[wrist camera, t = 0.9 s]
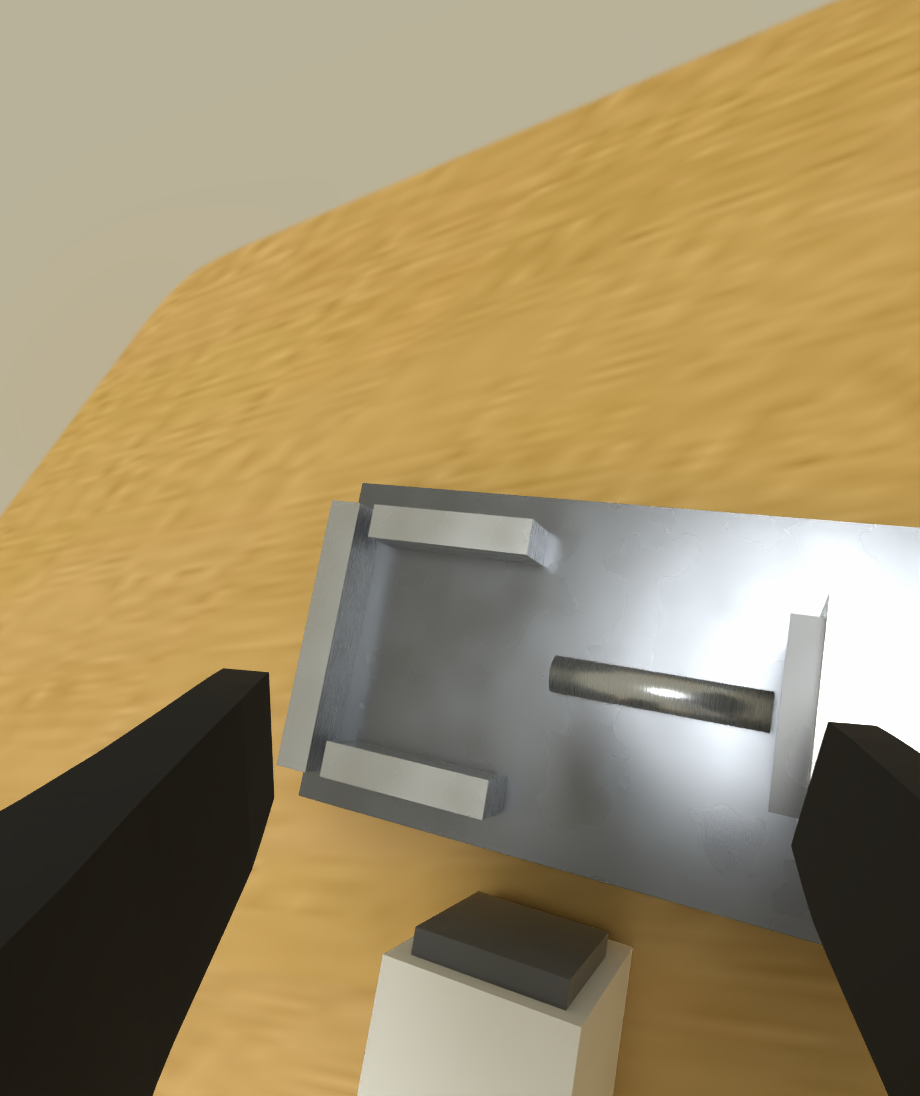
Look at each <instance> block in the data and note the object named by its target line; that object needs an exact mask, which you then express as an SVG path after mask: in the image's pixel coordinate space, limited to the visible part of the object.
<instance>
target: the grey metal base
mask: <svg viewBox="0 0 920 1096" xmlns="http://www.w3.org/2000/svg"><path fill="white" fill-rule="evenodd" d="M828 721H832V722H843V723H855V724H866V725H877V726H879V727H880V728H882V729H884V730H885V731H887V732H889V733H891V734H892V735H894V736H895V737H897V738H899V739H900V740H902V741H903V742H905V743H906V744H908V745H909V746H911V747H912V748H914V749H915V750H917V751H918V752H920V528H915V527H902V526H890V525H877V524H865V523H852V522H840V521H828V520H815V519H803V518H790V517H778V516H766V515H753V514H741V513H728V512H716V511H703V510H691V509H679V508H666V507H654V506H641V505H629V504H617V503H604V502H592V501H579V500H567V499H554V498H542V497H530V496H517V495H505V494H492V493H480V492H468V491H455V490H443V489H430V488H418V487H405V486H393V485H381V484H368V483H363V484H362V489H361V494H360V498H359V503H355V502H344V501H334V500H332V504H331V509H330V513H329V518H328V523H327V528H326V532H325V537H324V542H323V547H322V551H321V556H320V561H319V566H318V570H317V575H316V580H315V585H314V589H313V594H312V599H311V604H310V608H309V613H308V618H307V623H306V627H305V632H304V637H303V642H302V646H301V651H300V656H299V661H298V665H297V670H296V675H295V680H294V685H293V689H292V694H291V699H290V704H289V708H288V713H287V718H286V723H285V727H284V732H283V737H282V742H281V746H280V751H279V756H278V761H277V765H279V766H283V767H287V768H290V769H294V770H298V771H301V772H303V777H302V782H301V787H300V791H299V796H302V797H306V798H309V799H313V800H316V801H320V802H323V803H327V804H330V805H334V806H337V807H341V808H345V809H348V810H352V811H355V812H359V813H362V814H366V815H369V816H373V817H376V818H380V819H383V820H387V821H390V822H394V823H397V824H401V825H404V826H408V827H411V828H415V829H418V830H422V831H425V832H429V833H432V834H436V835H439V836H443V837H446V838H450V839H453V840H457V841H460V842H464V843H467V844H471V845H474V846H478V847H481V848H485V849H488V850H492V851H495V852H499V853H502V854H506V855H509V856H513V857H516V858H520V859H523V860H527V861H530V862H534V863H537V864H541V865H544V866H548V867H551V868H555V869H558V870H562V871H565V872H569V873H572V874H576V875H579V876H583V877H586V878H590V879H594V880H597V881H601V882H604V883H608V884H611V885H615V886H618V887H622V888H625V889H629V890H632V891H636V892H639V893H643V894H646V895H650V896H653V897H657V898H660V899H664V900H667V901H671V902H674V903H678V904H681V905H685V906H688V907H692V908H695V909H699V910H702V911H706V912H709V913H713V914H716V915H720V916H723V917H727V918H730V919H734V920H737V921H741V922H744V923H748V924H751V925H755V926H758V927H762V928H765V929H769V930H772V931H776V932H779V933H783V934H786V935H790V936H793V937H797V938H800V939H804V940H807V941H811V942H814V943H818V944H821V945H822V943H821V940H820V938H819V935H818V933H817V931H816V928H815V926H814V923H813V920H812V917H811V914H810V911H809V907H808V904H807V901H806V898H805V895H804V891H803V888H802V884H801V881H800V877H799V873H798V870H797V866H796V862H795V859H794V855H793V852H792V848H791V844H792V840H793V837H794V833H795V830H796V827H797V823H798V820H799V817H800V813H801V810H802V807H803V803H804V800H805V796H806V793H807V790H808V786H809V783H810V780H811V776H812V773H813V769H814V766H815V763H816V759H817V756H818V753H819V749H820V746H821V743H822V739H823V736H824V732H825V729H826V726H827V722H828Z"/></svg>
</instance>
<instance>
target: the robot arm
mask: <svg viewBox="0 0 920 1096" xmlns="http://www.w3.org/2000/svg"><path fill="white" fill-rule="evenodd" d="M273 800H274V781H273V757H272V734H271V710H270V687H269V672H258V671H247V670H235V669H224V668H223V669H221V670H220V671H218V672H217V673H215V674H213V675H212V676H210V677H209V678H207V679H206V680H204V681H203V682H201V683H200V684H198V685H197V686H195V687H194V688H192V689H191V690H189V691H188V692H186V693H185V694H183V695H182V696H181V697H179V698H178V699H176V700H175V701H173V702H172V703H170V704H169V705H168V706H166V707H165V708H163V709H162V710H160V711H159V712H157V713H156V714H154V715H153V716H152V717H150V718H149V719H147V720H146V721H144V722H143V723H141V724H140V725H138V726H137V727H135V728H134V729H132V730H131V731H129V732H128V733H126V734H125V735H123V736H122V737H120V738H119V739H117V740H116V741H114V742H113V743H111V744H110V745H108V746H107V747H105V748H104V749H102V750H101V751H99V752H98V753H96V754H94V755H93V756H91V757H89V758H88V759H86V760H85V761H83V762H81V763H80V764H78V765H76V766H75V767H73V768H71V769H70V770H68V771H67V772H65V773H63V774H62V775H60V776H58V777H57V778H55V779H53V780H52V781H50V782H49V783H47V784H45V785H44V786H42V787H40V788H39V789H37V790H36V791H34V792H32V793H31V794H29V795H27V796H26V797H24V798H22V799H21V800H19V801H17V802H15V803H14V804H12V805H10V806H8V807H7V808H5V809H3V810H1V811H0V1096H153V1093H154V1090H155V1087H156V1085H157V1082H158V1080H159V1077H160V1075H161V1072H162V1070H163V1067H164V1065H165V1063H166V1060H167V1058H168V1055H169V1053H170V1050H171V1048H172V1046H173V1043H174V1041H175V1039H176V1036H177V1034H178V1032H179V1030H180V1028H181V1025H182V1023H183V1021H184V1019H185V1017H186V1014H187V1012H188V1010H189V1008H190V1006H191V1003H192V1001H193V999H194V997H195V995H196V992H197V990H198V988H199V986H200V984H201V981H202V979H203V977H204V975H205V973H206V970H207V968H208V966H209V964H210V962H211V959H212V957H213V955H214V953H215V951H216V948H217V946H218V944H219V942H220V940H221V937H222V935H223V933H224V931H225V929H226V926H227V924H228V922H229V920H230V918H231V915H232V913H233V911H234V909H235V906H236V904H237V902H238V900H239V897H240V895H241V893H242V891H243V888H244V886H245V884H246V882H247V879H248V877H249V875H250V872H251V870H252V867H253V864H254V861H255V858H256V855H257V852H258V849H259V846H260V843H261V840H262V837H263V833H264V830H265V827H266V823H267V820H268V817H269V813H270V810H271V807H272V803H273ZM791 848H792V852H793V855H794V859H795V862H796V866H797V870H798V873H799V877H800V881H801V884H802V888H803V891H804V895H805V898H806V901H807V904H808V907H809V911H810V914H811V917H812V920H813V923H814V926H815V928H816V931H817V933H818V935H819V938H820V940H821V943H822V945H823V947H824V950H825V952H826V954H827V957H828V959H829V961H830V964H831V966H832V968H833V971H834V973H835V975H836V977H837V980H838V982H839V984H840V987H841V989H842V991H843V994H844V996H845V998H846V1000H847V1003H848V1005H849V1007H850V1009H851V1012H852V1014H853V1016H854V1018H855V1021H856V1023H857V1025H858V1028H859V1030H860V1032H861V1034H862V1037H863V1039H864V1041H865V1043H866V1046H867V1048H868V1050H869V1052H870V1055H871V1057H872V1059H873V1061H874V1064H875V1066H876V1068H877V1071H878V1073H879V1075H880V1077H881V1080H882V1082H883V1084H884V1086H885V1089H886V1091H887V1093H888V1095H889V1096H920V752H918V751H917V750H915V749H914V748H912V747H911V746H909V745H908V744H906V743H905V742H903V741H902V740H900V739H899V738H897V737H895V736H894V735H892V734H891V733H889V732H887V731H885V730H884V729H882V728H880V727H879V726H877V725H866V724H855V723H843V722H832V721H828V722H827V726H826V729H825V732H824V736H823V739H822V743H821V746H820V749H819V753H818V756H817V759H816V763H815V766H814V769H813V773H812V776H811V780H810V783H809V786H808V790H807V793H806V796H805V800H804V803H803V807H802V810H801V813H800V817H799V820H798V823H797V827H796V830H795V833H794V837H793V840H792V844H791Z"/></svg>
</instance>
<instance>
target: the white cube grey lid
mask: <svg viewBox="0 0 920 1096" xmlns="http://www.w3.org/2000/svg"><path fill="white" fill-rule="evenodd" d="M608 935H609V932H608V931H604V930H601V929H598V928H595V927H592V926H588V925H585V924H582V923H579V922H576V921H572V920H569V919H566V918H563V917H559V916H556V915H553V914H550V913H547V912H543V911H540V910H537V909H534V908H530V907H527V906H524V905H521V904H518V903H514V902H511V901H508V900H505V899H502V898H498V897H495V896H492V895H489V894H485V893H482V892H479V891H478V892H477V893H475V894H473V895H471V896H470V897H468V898H466V899H464V900H462V901H461V902H459V903H457V904H455V905H454V906H452V907H450V908H448V909H446V910H445V911H443V912H441V913H439V914H438V915H436V916H434V917H432V918H430V919H429V920H427V921H425V922H423V923H421V924H420V925H418V926H416V928H415V934H414V937H412V938H410V939H408V940H407V941H405V942H403V943H402V944H400V945H398V946H397V947H395V948H393V949H391V950H390V951H388V952H386V953H385V954H383V957H382V962H381V968H380V973H379V979H378V984H377V990H376V995H375V1001H374V1006H373V1012H372V1017H371V1023H370V1028H369V1033H368V1039H367V1044H366V1050H365V1055H364V1061H363V1066H362V1072H361V1077H360V1083H359V1088H358V1094H357V1096H613V1091H614V1084H615V1077H616V1069H617V1062H618V1055H619V1047H620V1040H621V1033H622V1025H623V1018H624V1011H625V1003H626V996H627V988H628V981H629V974H630V966H631V959H632V952H633V947H632V946H628V945H625V944H622V943H619V942H616V941H613V940H609V939H608Z"/></svg>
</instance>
